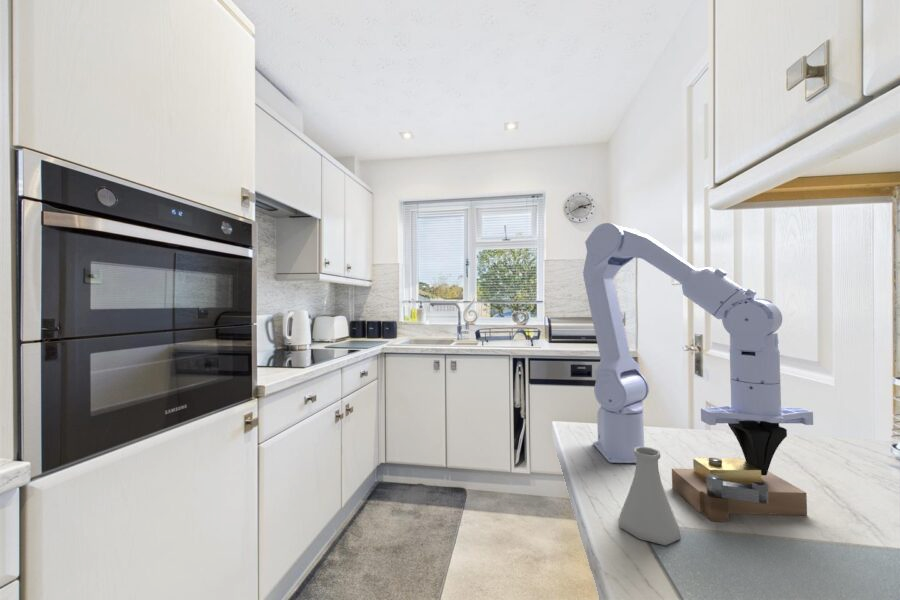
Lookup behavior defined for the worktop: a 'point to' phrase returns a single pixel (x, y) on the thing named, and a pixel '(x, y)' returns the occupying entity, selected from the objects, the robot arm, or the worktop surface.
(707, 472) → the lever cap
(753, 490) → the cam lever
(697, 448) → the worktop surface
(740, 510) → the body
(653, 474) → the flask
